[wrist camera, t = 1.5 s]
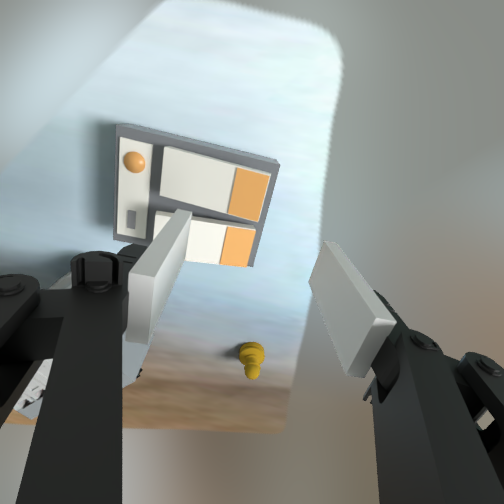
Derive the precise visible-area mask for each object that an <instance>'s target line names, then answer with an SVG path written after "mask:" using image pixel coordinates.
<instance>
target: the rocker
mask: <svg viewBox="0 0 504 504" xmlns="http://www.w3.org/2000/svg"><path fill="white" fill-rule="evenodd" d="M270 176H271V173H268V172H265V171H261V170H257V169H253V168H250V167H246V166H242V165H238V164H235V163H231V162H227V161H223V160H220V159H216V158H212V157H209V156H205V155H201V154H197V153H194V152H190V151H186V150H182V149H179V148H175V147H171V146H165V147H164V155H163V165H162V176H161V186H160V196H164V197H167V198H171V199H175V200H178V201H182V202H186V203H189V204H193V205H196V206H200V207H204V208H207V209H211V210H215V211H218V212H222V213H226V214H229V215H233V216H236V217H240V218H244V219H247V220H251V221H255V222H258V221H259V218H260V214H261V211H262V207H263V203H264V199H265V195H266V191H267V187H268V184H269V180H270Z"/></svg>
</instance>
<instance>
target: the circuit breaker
mask: <svg viewBox="0 0 504 504" xmlns="http://www.w3.org/2000/svg"><path fill="white" fill-rule="evenodd" d="M71 287H72V281H71V271H70V272H69V273H67V274H66V275H64V276H63V277H62V278H60V279H59V280H57V281H56V282H55V283H54V284H53V285H52V286H50V287H49V288H48V289H70V288H71ZM125 334H126V330H125V332H124V334H123V335H122V388H123V387H125V386H127V385H129V384H131V383H132V382H134V381H135V379H136V378H138V377H140V375H139V374H140V372H141V371H142V369H141V366H142V363H143V361H144V358H145V356H146V354H147V351H148V349H149V346H150V344H151V342H152V339H153V337H154V333H153V334H152V337H151V339H150V341H149V344H148V345H146V344H140V343H133V342H127V341H125ZM52 361H53V359H46V360H44V361H43V363H42V364H41V366H40V367H39V369H38V371H37V372H36V374H35V375H34V377H33V378H32V380H31V381H30V383H29V385H28V386H27V388H26V389H25V391H24V392H23V394H22V395H21V397H20V399H19V400H18V402H17V403H16V405H15V406H14V408H13V409H15V410H16V411H18V412H19V413H21V414H23V415H24V416H26V417H28V418H29V419H33V418H35V417H37V416H38V415H39V411H40V407H41V403H42V399H43V396H44V392H45V388H46V384H47V380H48V376H49V372H50V369H51V365H52Z"/></svg>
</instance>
